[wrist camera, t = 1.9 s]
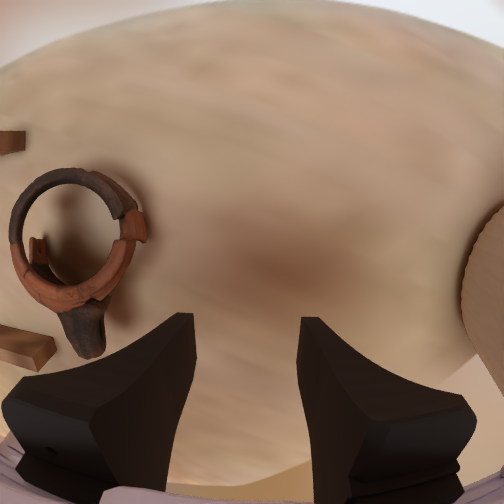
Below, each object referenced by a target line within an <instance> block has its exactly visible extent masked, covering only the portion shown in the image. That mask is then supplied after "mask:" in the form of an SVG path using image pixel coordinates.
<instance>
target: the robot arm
mask: <svg viewBox="0 0 504 504" xmlns="http://www.w3.org/2000/svg"><path fill="white" fill-rule="evenodd" d="M196 360H197V354H196V342H195V329H194V315H193V313H178V312H177V313H176V314H174V315H173V316H171V317H170V318H168V319H167V320H166V321H164V322H163V323H162V324H160V325H159V326H157V327H156V328H155V329H153V330H152V331H150V332H149V333H148V334H146V335H144V336H143V337H141V338H140V339H138V340H136V341H135V342H133V343H132V344H130V345H128V346H127V347H125V348H123V349H121V350H119V351H117V352H115V353H113V354H111V355H109V356H107V357H104V358H102V359H99V360H97V361H94V362H91V363H88V364H86V365H83V366H80V367H76V368H72V369H69V370H64V371H60V372H55V373H50V374H43V375H35V376H25V377H23V378H22V379H21V380H20V381H19V382H18V384H17V385H16V386H15V387H14V388H13V389H12V391H11V392H10V393H9V394H8V395H7V396H6V398H5V399H4V400H3V401H2V405H1V409H2V413H3V417H4V419H5V421H6V423H7V425H8V427H9V428H10V432H9V433H8V434H7V436H6V437H5V439H4V440H3V441H2V442H1V443H0V504H504V465H503V467H502V468H501V470H500V471H498V472H497V473H494V474H492V475H490V476H488V477H486V478H484V479H481V480H479V481H477V482H474V483H472V484H470V485H467V486H465V487H462V484H461V483H460V480H459V478H458V476H457V474H456V473H457V472H458V471H459V470H460V465H459V463H458V461H457V458H458V456H459V455H460V453H461V451H462V450H463V449H464V448H465V446H466V445H467V443H468V442H469V440H470V439H471V437H472V435H473V433H474V431H475V428H476V424H477V419H476V415H475V413H474V412H473V410H472V409H471V407H470V406H469V405H468V403H467V402H466V400H465V399H464V397H463V396H462V395H459V394H454V393H450V392H445V391H441V390H436V389H433V388H429V387H426V386H423V385H420V384H417V383H414V382H412V381H409V380H407V379H404V378H402V377H400V376H398V375H396V374H394V373H391V372H389V371H388V370H386V369H384V368H382V367H380V366H379V365H377V364H375V363H374V362H372V361H370V360H369V359H367V358H366V357H364V356H363V355H362V354H360V353H359V352H358V351H356V350H355V349H354V348H352V347H351V346H350V345H349V344H347V343H346V342H345V341H344V340H343V339H341V338H340V337H339V336H338V335H337V334H336V333H335V332H334V331H333V330H332V329H330V328H329V327H328V326H327V325H326V324H325V323H324V322H323V321H322V320H321V319H320V318H319V317H301V325H300V335H299V343H298V352H297V360H296V364H297V377H298V385H299V390H300V395H301V399H302V404H303V408H304V413H305V417H306V421H307V426H308V431H309V437H310V445H311V457H312V471H313V489H314V503H311V502H293V501H240V500H223V499H212V498H202V497H193V496H185V495H179V494H173V493H166V492H165V490H166V482H167V475H168V469H169V463H170V457H171V452H172V447H173V442H174V437H175V432H176V429H177V425H178V422H179V419H180V416H181V413H182V410H183V408H184V405H185V402H186V399H187V396H188V393H189V390H190V387H191V384H192V381H193V377H194V371H195V366H196Z"/></svg>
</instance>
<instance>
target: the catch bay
mask: <svg viewBox="0 0 504 504" xmlns="http://www.w3.org/2000/svg"><path fill="white" fill-rule="evenodd" d="M23 150H25V131H0V156H1V155H5V154H9V153H14V152H18V151H23ZM56 351H57V350H56V347H55V344H54V340H53V337H50V336H45V335H41V334H36V333H32V332H27V331H23V330H19V329H15V328H11V327H7V326H3V325H0V360H2V361H4V362H7V363H10V364H13V365H16V366H19V367H22V368H25V369H29V370H32V371H35V372H39V370H40V369H41V368H42V367H43V366H44V365H45V364H46V362H47V361H48V360H49V359H50V358H51V357H52V356H53V355H54V353H55V352H56Z"/></svg>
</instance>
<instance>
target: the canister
mask: <svg viewBox="0 0 504 504" xmlns="http://www.w3.org/2000/svg"><path fill="white" fill-rule="evenodd" d="M462 284H463V288H462V291H461V298H462V301H461V309H462V318H463V322H464V325H465V329H466V332H467V335H468V337H469V339H470V340H471V342H472V344H473V346H474V348H475V350H476V351H477V353H478V355H479V356H480V358H481V359H482V361H483V363H484V364H485V366H486V368H487V369H488V371H489V373H490V374H491V376H492V378H493V379H494V381H495V383H496V384H497V386H498V388H499V389H500V391H501V393H502V394H503V396H504V206H503V207H502V208H500V210H499V212H498V213H495V214H494V215H493V216H492V218H491V220H490V221H489V222H488V223H486V225H485V228H484V230H483V231H482V232H481V233H480V234H479V237H478V240H477V241H476V243H475V244H474V245H473V250H472V253H471V254H470V256H469V261H468V264H467V266H466V268H465V276H464V278H463V281H462Z"/></svg>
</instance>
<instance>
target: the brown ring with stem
mask: <svg viewBox="0 0 504 504" xmlns="http://www.w3.org/2000/svg"><path fill="white" fill-rule="evenodd" d="M61 184H78V185H82V186H85V187H87V188H89V189H91V190H92V191H94V192H95V193H97V194H98V195H99V196H100V197H101V198H102V199H103V200H104V202H105V203H106V205H107V206H108V208H109V210H110V213H111V215H112V218H113V220H116V219H119V223H120V240H115V241H114V242H113V246H112V249H111V252H110V255H109V257H108V259H107V261H106V263H105V264H104V266H103V267H102V268H101V269H100V270H99V271H98V272H97V274H95V275H94V276H93V277H92V278H90V279H89V280H87V281H84V282H82V283H80V284H79V285H73V286H68V285H67V284H65V283H64V282H62V281H61V280H60V279H59V278H57V277H56V276H55V274H54V273H53V272H52V270H51V268H50V267H49V263H48V260H47V255H46V248H45V240H43V239H36V238H34V237H31V238H30V240H29V251H30V254H29V261H30V264H29V262H28V259H27V257H26V254H25V250H24V245H23V241H22V232H23V225H24V221H25V218H26V215H27V213H28V211H29V209H30V207H31V205H32V204H33V203H34V201H35V200H36V199H37V198H38V196H40V195H41V194H42V193H44V192H45V191H47V190H48V189H50V188H52V187H55V186H58V185H61ZM138 240H139V241H140V242H141V243H146V240H147V230H146V225H145V221H144V218H143V215H142V213H141V212H139V211H138V205H137V203H136V201H135V200H134V199H133V198H132V197H131V196H130V195H129V194H128V192H126V191H125V190H124V189H123V188H122V187H121V186H120V185H119V184H118V183H116V182H115V181H114V180H112V179H111V178H109V177H107V176H105V175H103V174H101V173H99V172H96V171H91V172H87V171H85V170H84V169H81V168H60V169H55V170H53V171H49V172H47V173H45V174H43V175H42V176H40V177H38V178H36V179H35V180H34V182H33V183H31V184H30V185H29V186H28V187H27V188H26V189H25V190H24V192H23V193H22V194H21V195H20V197H19V199H18V200H17V201H16V203H15V205H14V207H13V209H12V214H11V218H10V223H9V242H10V250H11V254H12V260H13V264H14V268H15V271H16V273H17V275H18V278H19V280H20V281H21V283H22V285H23V286H24V288H25V289H26V290H27V291H28V293H29V294H30V295H31V296H32V297H33V298H34V299H35V300H36V301H37V302H38V303H40V304H42V305H44V306H46V307H47V308H49V309H50V310H52V311H54V312H55V313H57V315H58V317H59V319H60V321H61V323H62V326H63V328H64V331H65V334H66V337H67V339H68V340H69V342H70V343H71V345H72V346H73V348H74V350H75V351H76V353H77V354H78V356H79V357H82V358H84V359H87V360H89V359H91V358H96V357H99V356H101V355H102V354H103V352H104V351H105V349H106V336H105V325H104V313H105V310H106V309H107V308H108V305H109V304H110V299H111V297H110V295H108V294H109V292H110V291H111V290H112V289H113V288H114V287H115V286H116V284H117V283H118V282H119V281H120V279H121V277H122V276H123V274H124V272H125V270H126V269H127V267H128V266H129V264H130V262H131V259H132V257H133V254H134V251H135V246H136V241H138Z"/></svg>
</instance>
